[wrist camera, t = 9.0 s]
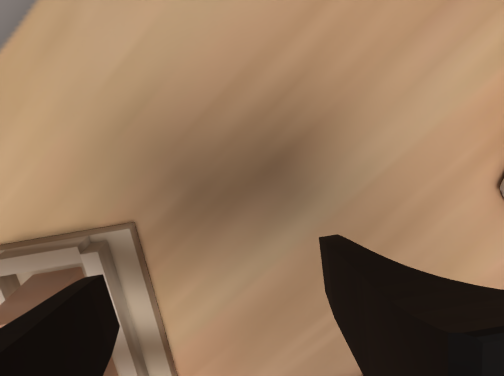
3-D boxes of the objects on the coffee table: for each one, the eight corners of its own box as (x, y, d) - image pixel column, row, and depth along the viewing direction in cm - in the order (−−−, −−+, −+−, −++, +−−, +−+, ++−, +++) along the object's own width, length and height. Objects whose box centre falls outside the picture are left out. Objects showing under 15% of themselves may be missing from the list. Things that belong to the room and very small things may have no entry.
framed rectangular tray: (188, 415, 26) (183, 448, 24) (58, 437, 26) (40, 473, 24) (134, 222, 22) (121, 239, 19) (-24, 248, 22) (-56, 269, 19)
